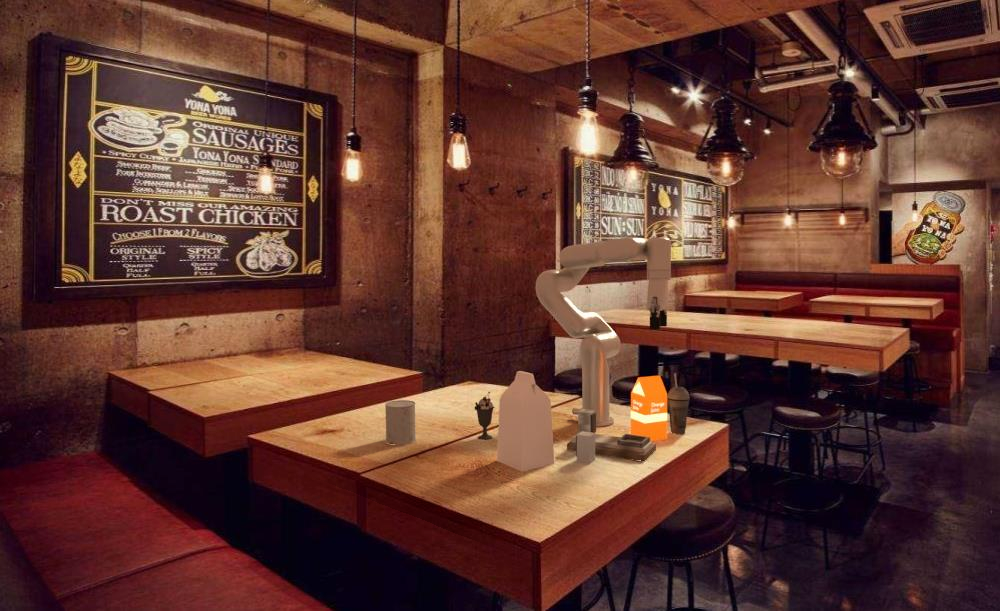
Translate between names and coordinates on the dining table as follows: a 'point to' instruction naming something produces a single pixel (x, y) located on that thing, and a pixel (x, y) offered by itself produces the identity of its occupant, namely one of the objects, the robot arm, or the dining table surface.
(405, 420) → the gray can
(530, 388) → the milk
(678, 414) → the beverage cup
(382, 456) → the dining table surface
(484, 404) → the sundae
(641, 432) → the orange juice
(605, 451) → the rail board
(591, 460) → the white block dark cap
